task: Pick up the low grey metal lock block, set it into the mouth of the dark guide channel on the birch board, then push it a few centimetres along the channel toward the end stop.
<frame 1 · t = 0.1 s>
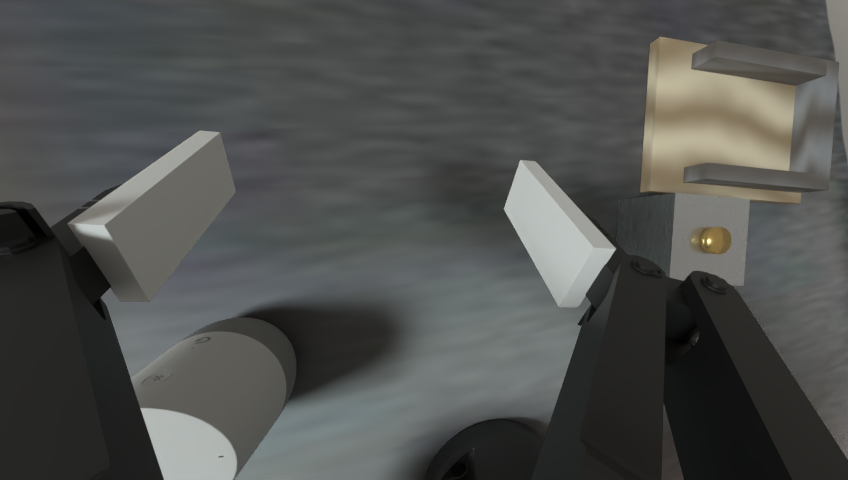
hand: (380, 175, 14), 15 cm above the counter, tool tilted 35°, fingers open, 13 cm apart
smart speaker: (250, 359, 28), on the counter
lock block: (647, 238, 34), on the counter
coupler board: (721, 128, 35), on the counter
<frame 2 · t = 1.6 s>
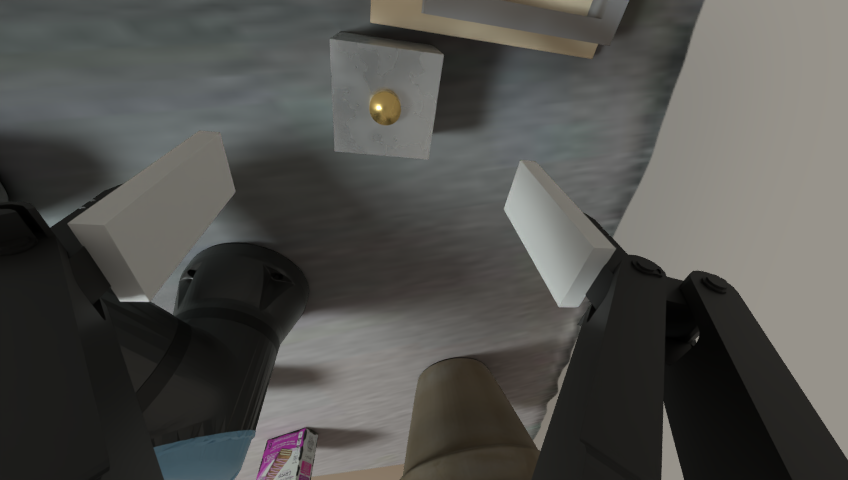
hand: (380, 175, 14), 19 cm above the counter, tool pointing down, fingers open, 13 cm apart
lock block: (385, 88, 29), on the counter
plant pot: (454, 375, 63), on the counter
candy bar box: (292, 435, 72), on the counter
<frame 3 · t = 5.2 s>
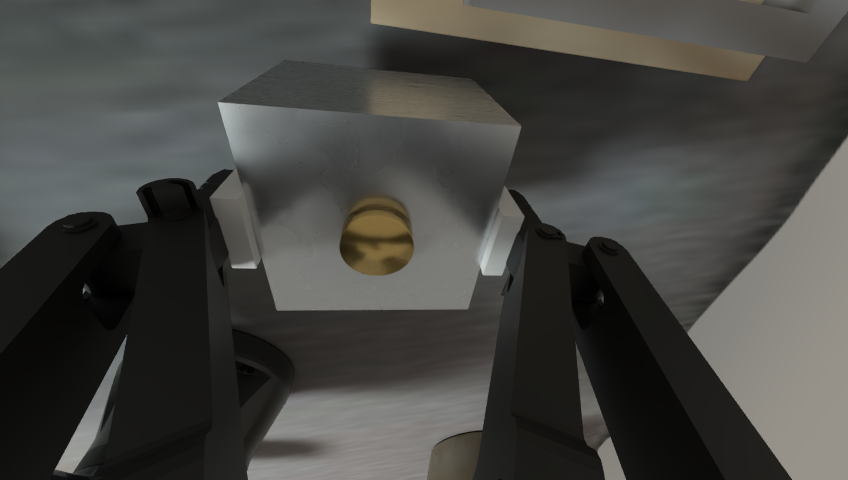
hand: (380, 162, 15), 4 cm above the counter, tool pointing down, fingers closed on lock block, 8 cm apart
lock block: (380, 157, 16), point 3 cm above the counter, touching gripper
plant pot: (475, 445, 53), on the counter
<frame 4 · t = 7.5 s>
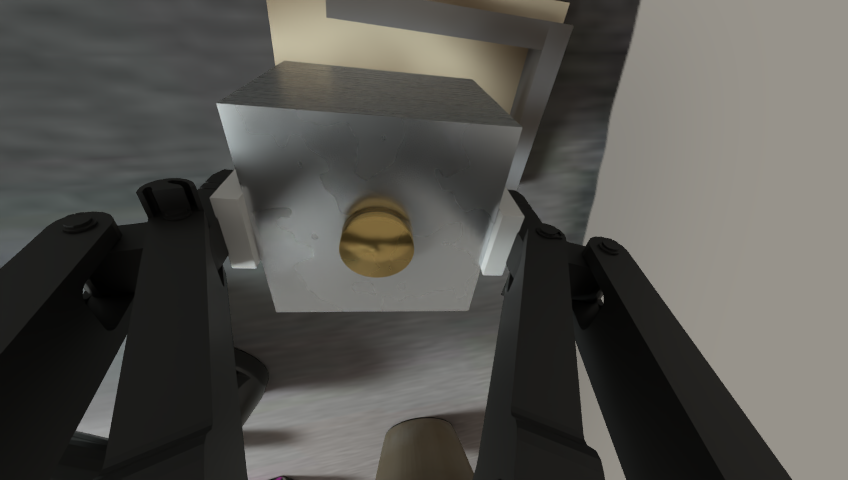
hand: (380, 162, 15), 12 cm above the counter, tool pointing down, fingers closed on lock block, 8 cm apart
lock block: (380, 158, 16), point 12 cm above the counter, touching gripper
plant pot: (421, 431, 66), on the counter
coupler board: (412, 104, 25), on the counter
when the fingers open (2 cm above the counter, at t = 10.1 s): lock block stays where it is, resting on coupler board.
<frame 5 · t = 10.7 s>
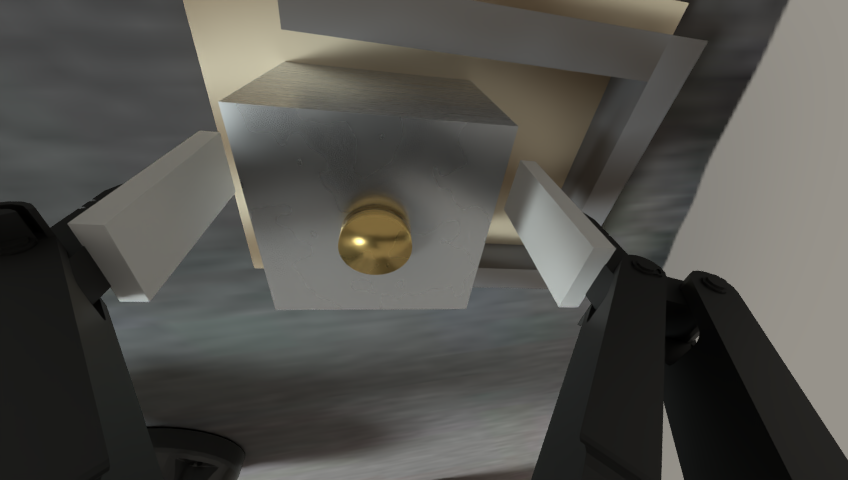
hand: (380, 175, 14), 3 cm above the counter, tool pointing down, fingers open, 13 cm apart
lock block: (379, 158, 16), point 1 cm above the counter, touching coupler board
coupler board: (426, 152, 17), on the counter
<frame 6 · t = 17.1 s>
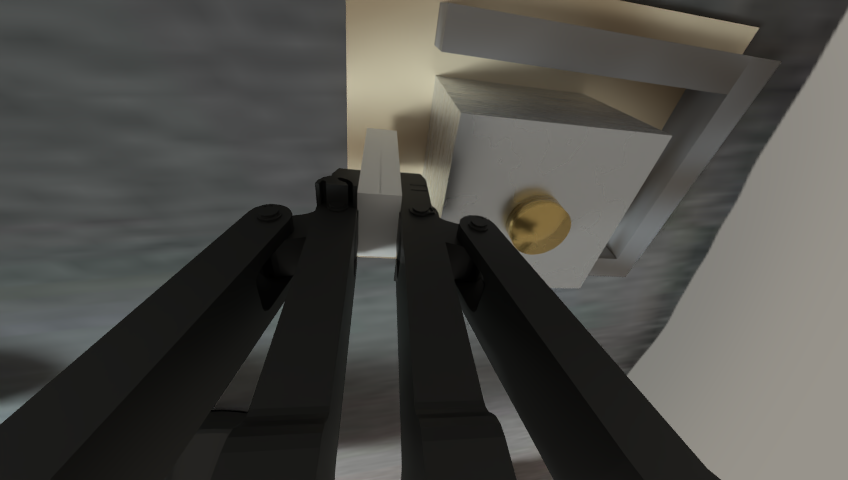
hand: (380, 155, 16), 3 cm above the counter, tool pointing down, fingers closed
lock block: (492, 159, 18), point 1 cm above the counter, touching gripper
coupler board: (512, 153, 19), on the counter
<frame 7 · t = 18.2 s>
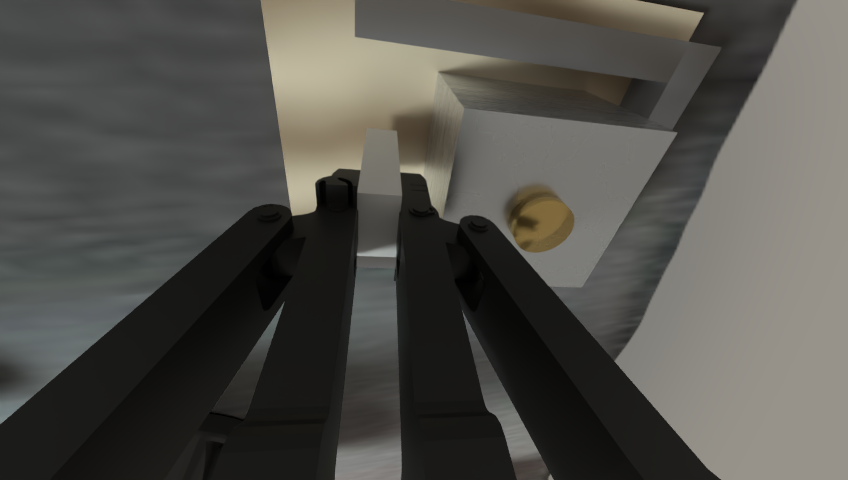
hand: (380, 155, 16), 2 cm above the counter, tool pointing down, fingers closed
lock block: (494, 156, 18), point 1 cm above the counter, touching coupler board, gripper
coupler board: (460, 147, 19), on the counter
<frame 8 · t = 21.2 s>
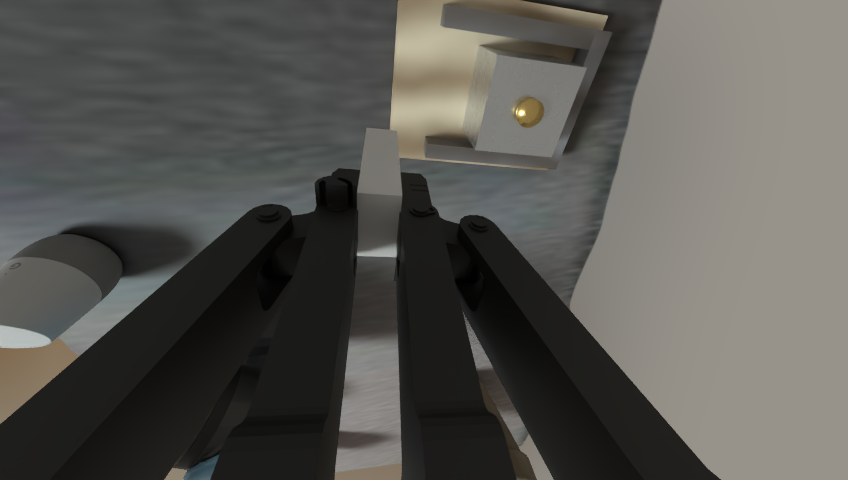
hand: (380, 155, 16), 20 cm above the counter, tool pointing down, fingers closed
smart speaker: (90, 253, 42), on the counter
lock block: (505, 94, 33), point 1 cm above the counter, touching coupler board
plant pot: (453, 387, 74), on the counter
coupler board: (484, 90, 34), on the counter
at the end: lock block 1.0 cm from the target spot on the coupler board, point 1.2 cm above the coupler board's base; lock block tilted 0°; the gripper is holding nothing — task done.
